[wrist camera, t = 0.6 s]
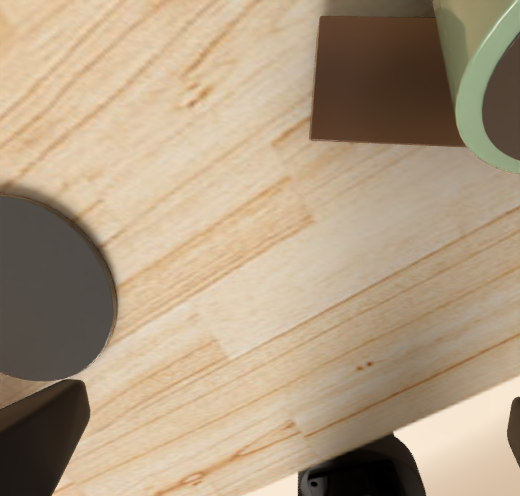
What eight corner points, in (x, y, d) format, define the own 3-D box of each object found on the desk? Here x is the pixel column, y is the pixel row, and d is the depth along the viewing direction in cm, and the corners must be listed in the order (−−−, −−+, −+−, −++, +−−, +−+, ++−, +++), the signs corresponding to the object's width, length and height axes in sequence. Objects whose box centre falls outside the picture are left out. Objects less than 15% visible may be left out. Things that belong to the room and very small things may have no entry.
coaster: (150, 348, 22) (147, 353, 22) (-1, 395, 25) (-7, 400, 24) (53, 161, 19) (47, 162, 19) (-107, 235, 22) (-116, 237, 21)
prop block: (573, 151, 17) (630, 154, 14) (309, 140, 18) (310, 140, 15) (605, 41, 15) (675, 19, 12) (316, 36, 16) (319, 15, 13)
